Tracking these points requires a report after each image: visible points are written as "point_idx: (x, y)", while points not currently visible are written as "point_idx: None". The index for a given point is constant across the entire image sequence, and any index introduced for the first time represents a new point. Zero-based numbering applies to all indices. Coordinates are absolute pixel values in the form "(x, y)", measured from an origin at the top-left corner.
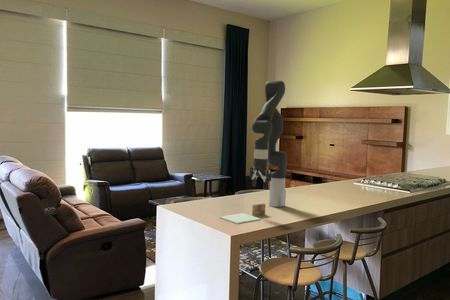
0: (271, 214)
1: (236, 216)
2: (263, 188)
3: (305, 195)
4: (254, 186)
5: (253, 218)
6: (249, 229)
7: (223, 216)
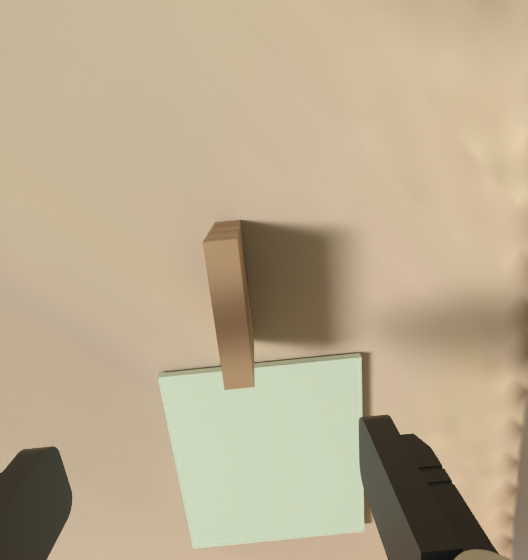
0: (249, 151)
1: (231, 465)
2: (367, 484)
3: None
4: (65, 482)
5: (331, 399)
6: (478, 514)
7: (197, 529)
